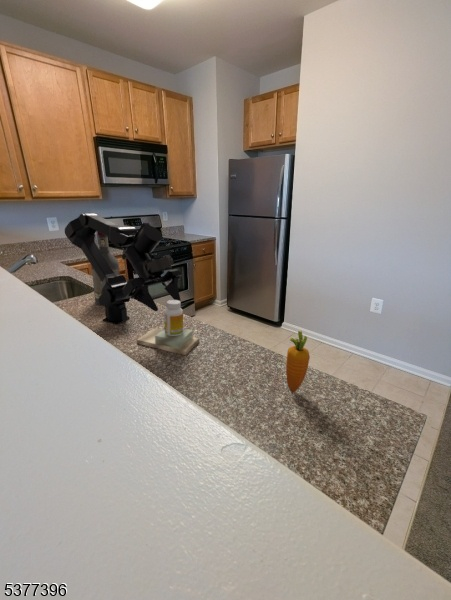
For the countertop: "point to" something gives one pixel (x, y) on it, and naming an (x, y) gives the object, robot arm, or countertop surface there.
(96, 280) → the liquor
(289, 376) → the carrot
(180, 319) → the supplement bottle
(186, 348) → the column base
